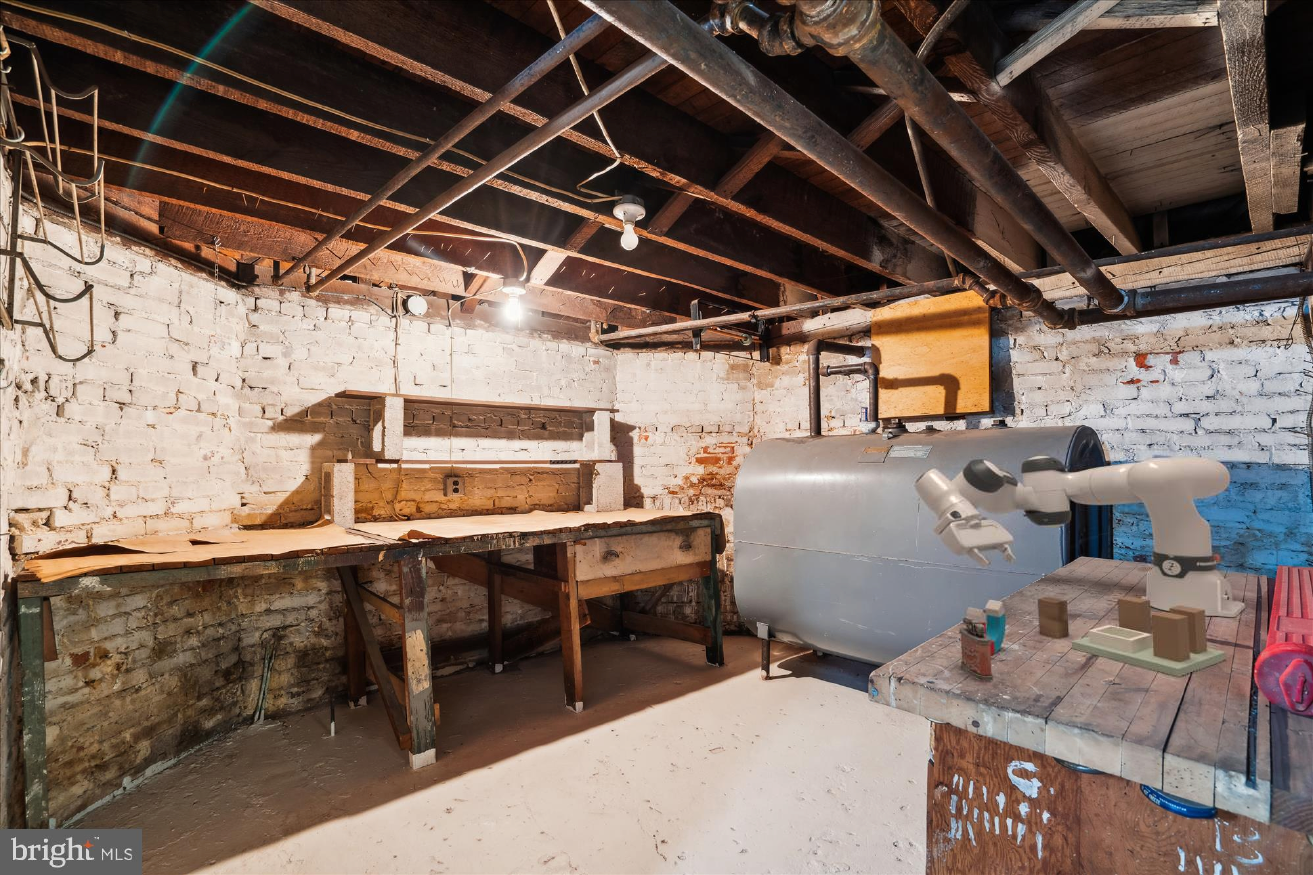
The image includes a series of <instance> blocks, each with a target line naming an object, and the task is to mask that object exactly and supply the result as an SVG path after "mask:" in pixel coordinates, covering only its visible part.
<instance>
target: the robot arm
mask: <svg viewBox="0 0 1313 875" xmlns="http://www.w3.org/2000/svg"><path fill="white" fill-rule="evenodd" d="M1066 469H1070V466H1069V465H1065V464H1064V463H1063V462H1062V461H1061V460H1059V459H1058V458H1055V457H1051V456H1046V455H1038V456H1033V457H1031V458H1028V459H1026V460H1024V461H1022V463H1021V468H1020V474H1022V483H1021V482H1019V481H1018V480H1017V478H1015V476H1013V475H1012V473H1011V472H1010V471H1008V470H1006V469H1004V468H1002V467H999V466H996V465H995V464H993V463H992V462H990V461H988V460H986V459H982V458H979V459H978V458H977V459H972V460H970V461H969V462H968V463H967V464H966V465H965V467H964V468H963V470H961V471H960V472H959V473H958V474H957V475H956V476H955V477H954V478H953V479H952V480H950V479H948V478H947V477H946V475H944V474H943V473H942V472H941V471H939V470H938V469H936V468H932V469H928V470H927V471H925V472H923V473H922V474H921V475H920V476H919V477H918V479H916V481H915V482H914V483H915V484H914V487H915V490H916V492H917V494H918V495H919V497H920V499H921V500H922V501H923V502H924V504H925V505H926V506H927V507H928V508H929V509H930V510H931V511H932V512H934V513H935V515H937V516H936V517H937V519H938V520H939V521H938V523H936V524H935V526H934V527H933V529H932V531H933V532H934V533H935V534H936V535H937V536H939V538H940V540H941V542H942V543H943V544H944V545H945V546H946V547H947V549H949V550H950V552H951V553H953V554H954V555H956V556H964V555H968V557H969V558H971V559H972V560H974V561H975V562H977V563H979V565H980V566H981V567H982V568H987V567H990V565H991V564H992V562H991V560H989V558H988V557H987V556H983V554H981V553H983V552H984V553H985V552H990V551H997V550H998V551H999V553H1002V555H1003V557H1002V559H1003V560H1004V561H1005V562H1006V564H1012V563H1014V562H1015V561H1016V560H1017V559H1016V557H1015V556H1014V555H1013V553H1012V551H1011V547H1010V546H1011V545H1012V544H1013V543H1014V541H1015V540H1014V537H1013V535H1012V534H1011V533H1010V532H1009V531H1008V530H1007V529H1005V527H1003V526H1002V525H1001V524H1000V523H999V522H998V521H996V520H994V519H990V518H987V517H984V516H983V517H982V514H981V512H980V511H978V508H981V510H984V511H985V512H987V513H989V514H993V515H1004V514H1009V513H1013V512H1017V511H1023V512H1024V514H1022V516H1023V517H1026V518H1027V519H1028V520H1029V521H1030V522H1031V523H1033V524H1035V525H1037V526H1040V527H1043V528H1049V529H1050V528H1051V529H1053V528H1054V529H1055V528H1058V527H1062V526H1064V525H1067V524H1068V523H1070V522H1071V520H1072V510H1070V509H1071V508H1070V500H1071V501H1073V502H1074V503H1076V504H1083V505H1088V506H1089V505H1091V506H1095V505H1096V506H1107V505H1109V506H1110V505H1122V504H1123V505H1124V504H1139V503H1143V505H1144V507H1145V508H1146V511H1147V513H1148V516H1149V518H1150V523H1151V528H1152V529H1151V531H1152V543H1153V550H1152V551H1151V564H1152V565H1153V567H1152V568H1151V569H1149V570H1148V571H1147V572H1146V573H1147V574H1146V595H1145V596H1141V597H1140V598H1141V599H1146V600H1150V607H1153V608H1155V609H1158V610H1161V611H1162V610H1163V611H1165V612H1166V611H1167V612H1170V611H1169V608H1172V607H1175V606H1179V605H1180V606H1186V607H1191V608H1197V609H1203V610H1205V616H1206V617H1207V616H1210V617H1212V616H1213V617H1215V616H1217V617H1224V618H1225V617H1227V618H1236V617H1237V616H1238V615H1239V614H1240V613H1241V612H1242V611H1243V610H1244V609H1245V608H1246V605H1245V604H1246V603H1244V602H1241V601H1238V600H1235V599H1233V593H1232V592H1233V591H1232V585H1231V583H1230V582H1229V581H1227V579H1226V578H1225V577H1224V576H1223V575H1222V574H1221V573H1220V572H1219V571H1218V570H1217V569H1218V565H1217V564H1218V563H1219V562H1220V559H1221V558H1220V555H1219V554H1213V551H1212V534H1211V526H1210V525H1211V524H1210V523H1209V522H1208V521H1207V520H1206V519H1204V517H1202V516H1201V515H1200V513H1199V512H1198V509H1197V507H1196V504H1195V502H1194V500H1199V499H1207V498H1208V497H1212V496H1215V495H1219V494H1221V493H1223V492H1224V491H1225V490H1227V488H1228V487H1229V485H1230V482H1231V475H1230V471H1229V470H1228V468H1227V467H1226V466H1225V465H1224V464H1223V463H1221V462H1220V461H1218V460H1215V459H1211V458H1207V457H1202V456H1173V457H1172V456H1169V457H1166V456H1165V457H1154V458H1153V457H1152V458H1149V459H1148V458H1147V459H1144V460H1141V461H1138V462H1130V463H1129V462H1128V463H1121V464H1113V465H1107V466H1106V465H1105V466H1099V467H1094V468H1093V467H1092V468H1088V469H1085V470H1080V471H1075V472H1068V471H1067V470H1066Z"/></svg>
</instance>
